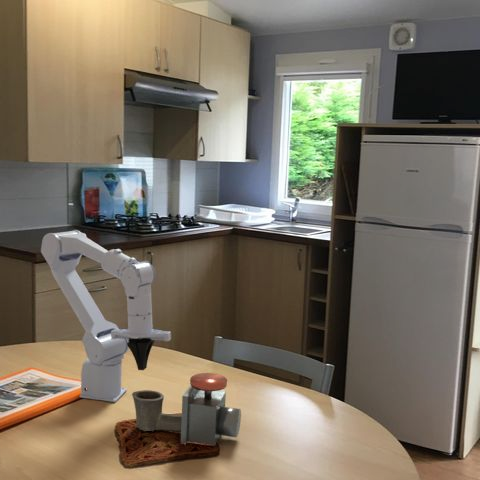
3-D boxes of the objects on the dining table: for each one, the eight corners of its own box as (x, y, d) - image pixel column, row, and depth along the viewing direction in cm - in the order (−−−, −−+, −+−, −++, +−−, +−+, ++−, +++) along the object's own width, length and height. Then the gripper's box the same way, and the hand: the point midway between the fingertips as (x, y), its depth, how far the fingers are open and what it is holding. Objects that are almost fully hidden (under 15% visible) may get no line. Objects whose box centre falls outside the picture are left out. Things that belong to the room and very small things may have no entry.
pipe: (181, 440, 134) (182, 405, 133) (126, 431, 137) (126, 397, 136) (189, 428, 140) (190, 394, 139) (136, 420, 143) (137, 387, 142)
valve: (178, 444, 132) (180, 386, 130) (192, 422, 143) (195, 368, 141) (231, 452, 130) (235, 393, 128) (242, 429, 141) (245, 374, 139)
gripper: (104, 316, 145) (107, 372, 147) (162, 318, 142) (164, 375, 143) (117, 309, 152) (119, 363, 153) (173, 311, 149) (175, 366, 150)
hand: (142, 368), depth 149 cm, fingers closed
